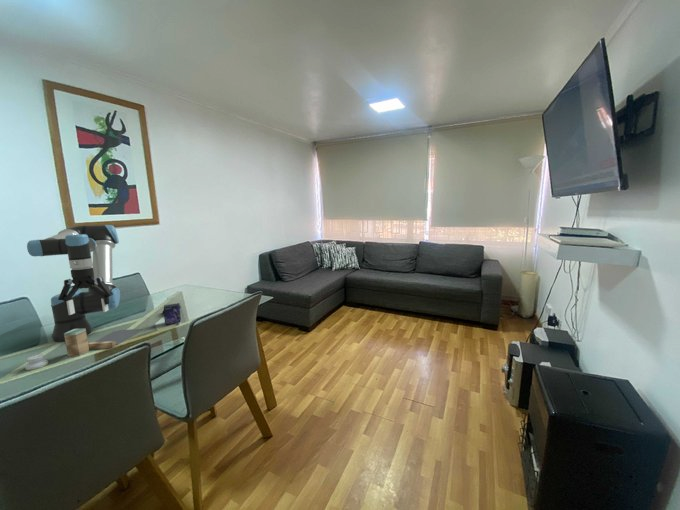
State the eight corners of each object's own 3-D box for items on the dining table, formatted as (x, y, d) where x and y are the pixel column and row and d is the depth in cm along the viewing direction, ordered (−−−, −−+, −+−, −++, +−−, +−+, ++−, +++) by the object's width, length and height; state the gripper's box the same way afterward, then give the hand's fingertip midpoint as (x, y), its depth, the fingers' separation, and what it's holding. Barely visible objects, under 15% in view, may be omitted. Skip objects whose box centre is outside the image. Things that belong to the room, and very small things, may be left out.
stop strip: (82, 349, 127) (81, 344, 127) (85, 347, 129) (84, 342, 129) (112, 347, 128) (112, 342, 127) (115, 345, 130) (115, 340, 129)
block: (68, 356, 121) (63, 333, 119) (78, 351, 125) (74, 328, 124) (79, 355, 121) (75, 332, 119) (89, 350, 126) (85, 328, 124)
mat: (87, 346, 130) (87, 345, 130) (116, 330, 148) (115, 330, 148) (117, 344, 131) (117, 344, 131) (142, 329, 149) (142, 328, 148)
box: (165, 325, 154) (162, 307, 152) (165, 322, 159) (163, 304, 157) (181, 322, 158) (179, 305, 156) (181, 319, 162) (179, 302, 161)
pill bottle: (50, 376, 119) (45, 351, 117) (52, 380, 115) (48, 355, 113) (27, 383, 113) (22, 357, 112) (29, 388, 110) (24, 362, 108)
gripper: (41, 271, 116) (50, 318, 119) (108, 267, 121) (114, 312, 124) (55, 268, 123) (63, 312, 126) (118, 265, 128) (124, 307, 131)
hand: (89, 312), depth 125 cm, fingers open, 13 cm apart
